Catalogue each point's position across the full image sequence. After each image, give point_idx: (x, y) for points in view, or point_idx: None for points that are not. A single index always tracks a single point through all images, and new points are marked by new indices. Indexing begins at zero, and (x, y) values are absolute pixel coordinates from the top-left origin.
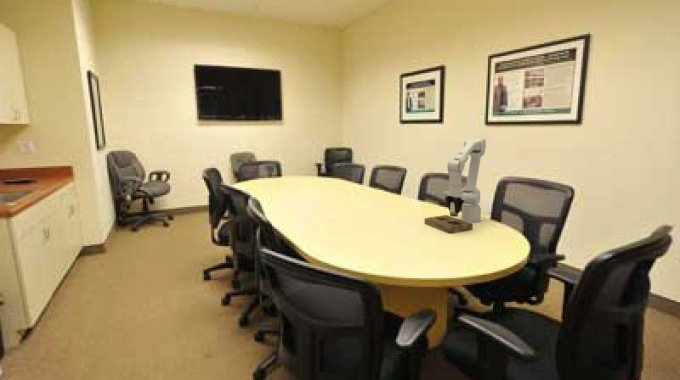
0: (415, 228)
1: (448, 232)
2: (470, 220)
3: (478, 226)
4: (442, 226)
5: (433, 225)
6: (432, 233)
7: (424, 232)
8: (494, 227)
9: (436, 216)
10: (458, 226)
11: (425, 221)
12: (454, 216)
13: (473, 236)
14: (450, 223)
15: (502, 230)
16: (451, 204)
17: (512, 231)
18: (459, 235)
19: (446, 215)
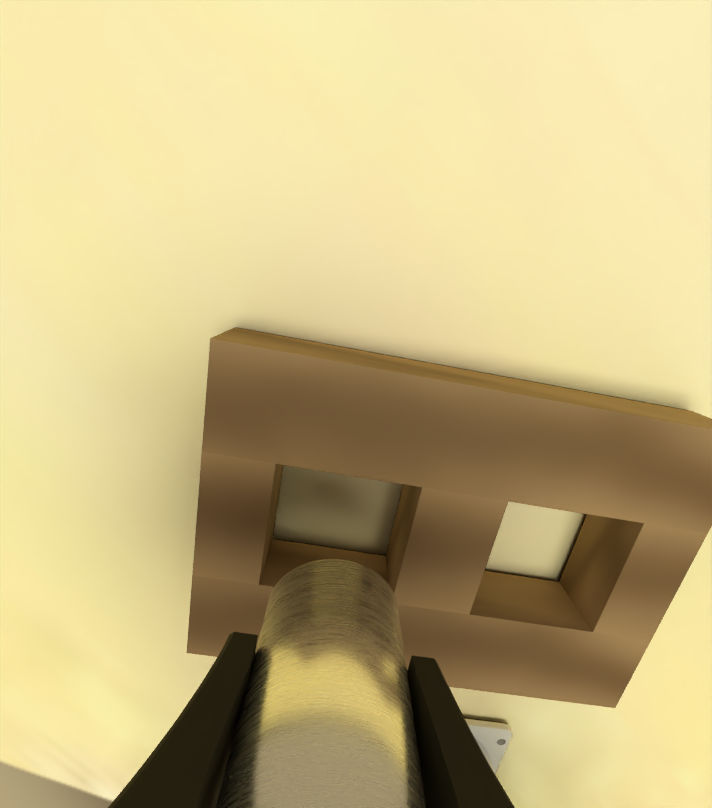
0: (676, 167)
1: (255, 332)
2: None
3: None
4: (368, 362)
5: (538, 386)
6: (377, 174)
7: (476, 118)
8: None
9: (669, 596)
10: (200, 472)
11: (702, 419)
12: (284, 578)
13: (44, 453)
14: (401, 537)
15: (76, 742)
16: None
17: (20, 767)
18: (140, 371)
19: (600, 695)
